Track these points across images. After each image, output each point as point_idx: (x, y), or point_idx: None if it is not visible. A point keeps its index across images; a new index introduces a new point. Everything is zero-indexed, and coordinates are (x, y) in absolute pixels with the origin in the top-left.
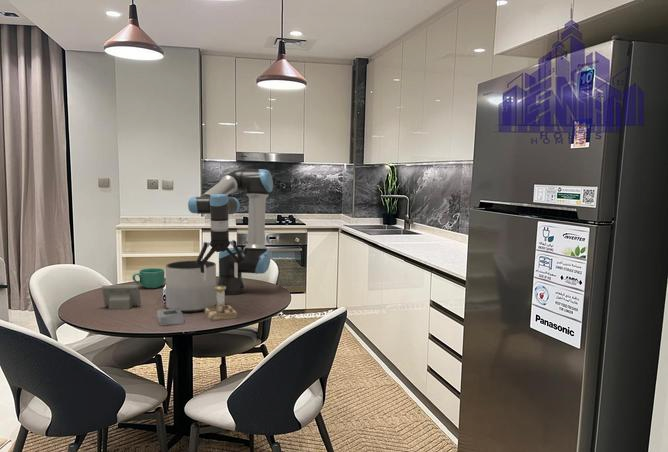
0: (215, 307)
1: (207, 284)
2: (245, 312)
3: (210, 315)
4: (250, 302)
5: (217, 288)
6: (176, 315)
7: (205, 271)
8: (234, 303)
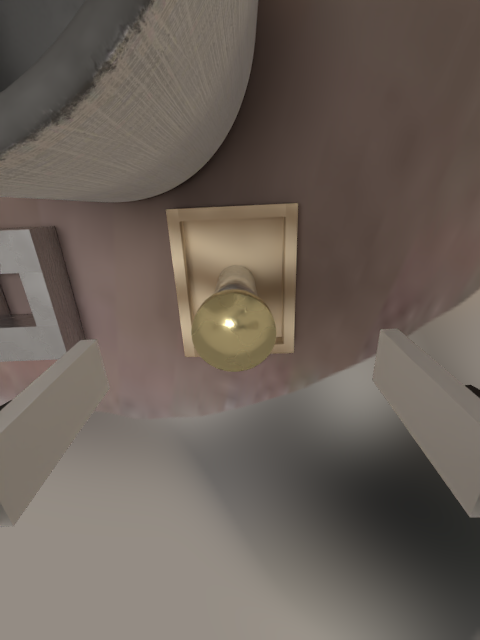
0: (222, 219)
1: (150, 161)
2: (348, 277)
3: (184, 341)
4: (460, 67)
5: (209, 362)
6: (38, 355)
7: (56, 453)
8: (364, 53)
